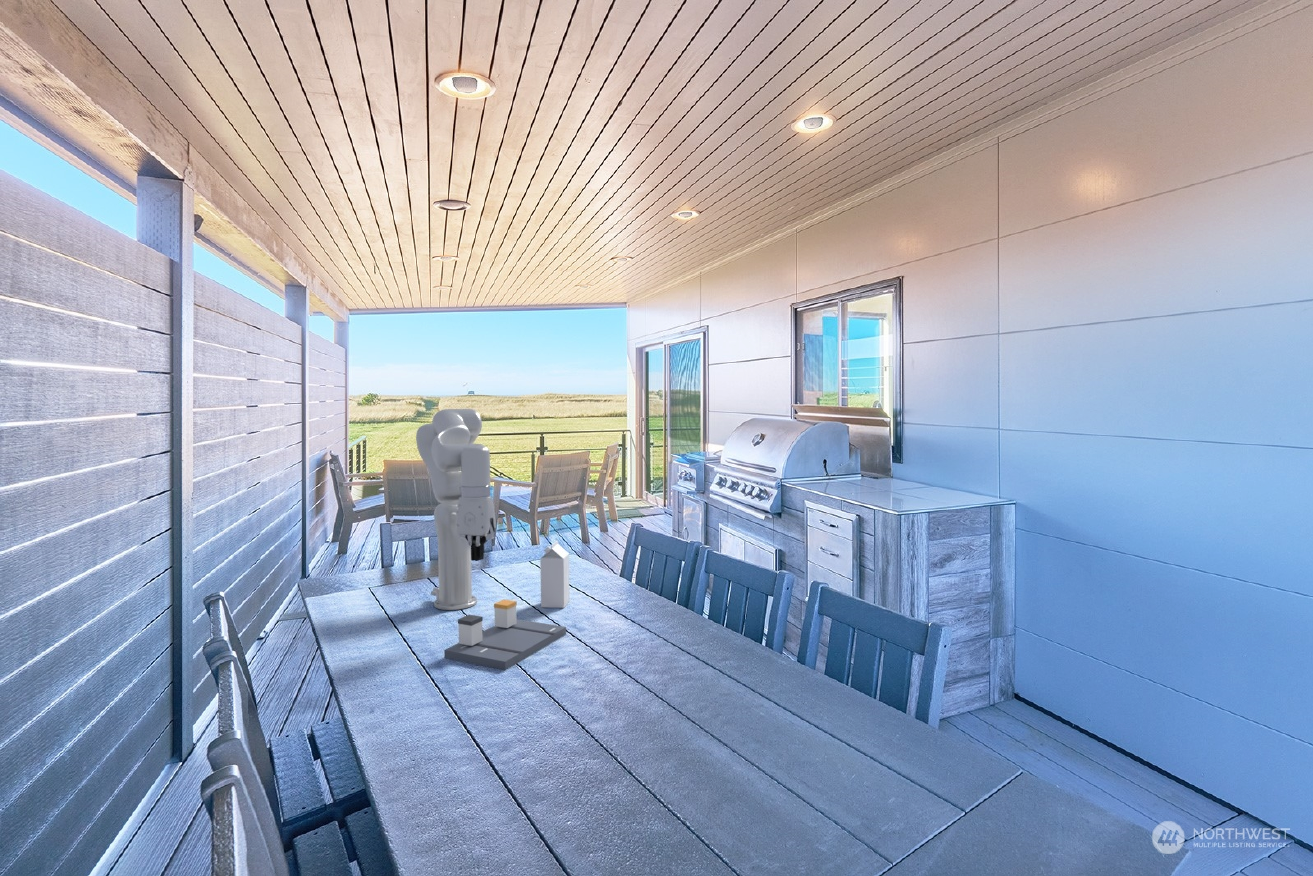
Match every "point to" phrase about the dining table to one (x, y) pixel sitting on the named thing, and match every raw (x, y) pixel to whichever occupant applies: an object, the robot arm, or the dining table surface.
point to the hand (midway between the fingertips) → (477, 559)
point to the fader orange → (505, 613)
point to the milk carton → (554, 577)
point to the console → (507, 644)
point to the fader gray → (470, 630)
